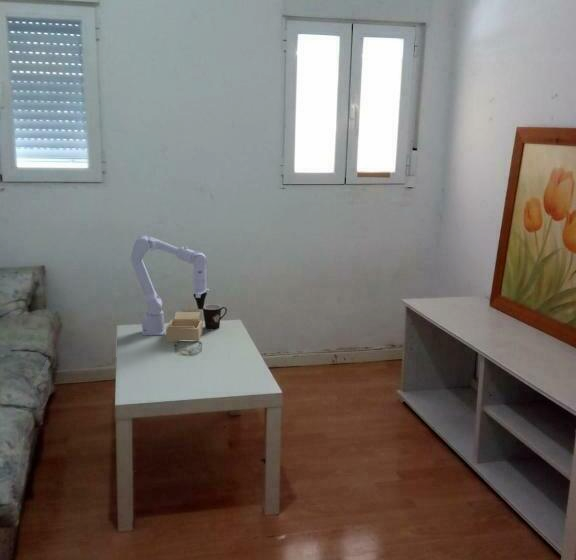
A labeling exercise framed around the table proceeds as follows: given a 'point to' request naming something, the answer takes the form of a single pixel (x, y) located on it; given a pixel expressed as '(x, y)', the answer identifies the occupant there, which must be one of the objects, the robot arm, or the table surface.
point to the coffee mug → (212, 316)
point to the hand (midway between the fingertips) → (200, 308)
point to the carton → (184, 330)
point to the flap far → (187, 316)
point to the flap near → (181, 326)
